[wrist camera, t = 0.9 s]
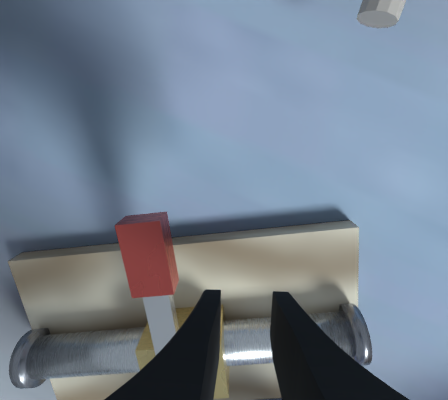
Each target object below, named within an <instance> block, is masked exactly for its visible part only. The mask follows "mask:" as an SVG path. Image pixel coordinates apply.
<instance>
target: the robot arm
mask: <svg viewBox="0 0 448 400" xmlns="http://www.w3.org/2000/svg"><path fill="white" fill-rule="evenodd" d="M220 329H221V290H210V289H206V290H205V291H203V293H202V295H201V297H200V299H199V301H198V302H197V304H196V306H195V307H194V309H193V310H192V312H191V313H190V315H189V316H188V318H187V319H186V320H185V322H184V323H183V325H182V326H181V327H180V328H179V330H178V331H177V332H176V333H175V335H174V336H173V337H172V338H171V340H170V341H169V342H168V343H167V344H166V345H165V346H164V347H163V349H162V350H161V351H160V352H159V353H158V354H157V355H156V356H155V357H154V358H153V359H152V360H151V361H150V362H149V363H148V364H147V365H145V366H144V367H143V368H142V369H141V370H140V371H139V372H138V373H137V374H136V375H134V376H133V377H132V378H131V379H130V380H129V381H127V382H126V383H125V384H124V385H122V386H121V387H120V388H118V389H117V390H116V391H115V392H113V393H112V394H111V395H109V396H108V397H107V398H106V399H104V400H213V398H214V391H215V385H216V378H217V371H218V364H219V353H220ZM270 341H271V349H272V357H273V363H274V367H275V372H276V376H277V380H278V385H279V389H280V393H281V397H282V400H409V399H408V398H406V397H404V396H403V395H401V394H400V393H398V392H397V391H395V390H394V389H393V388H391V387H390V386H388V385H387V384H386V383H384V382H383V381H381V380H380V379H379V378H377V377H376V376H374V375H373V374H372V373H370V372H369V371H368V370H367V369H365V368H364V367H363V366H361V365H360V364H359V363H358V362H357V361H355V360H354V359H353V358H352V357H351V356H349V355H348V354H347V353H346V352H345V351H344V350H342V349H341V348H340V347H339V346H338V345H337V344H336V343H335V342H334V341H333V340H332V339H331V338H330V337H329V336H327V335H326V334H325V333H324V332H323V331H322V329H321V328H320V327H319V326H318V325H317V324H316V323H315V322H314V321H313V320H312V319H311V318H310V317H309V315H308V314H307V313H306V312H305V311H304V310H303V309H302V307H301V306H300V305H299V304H298V303H297V301H296V300H295V299H294V298H293V297H292V295H291V294H290V293H289V292H279V291H273V295H272V309H271V323H270Z"/></svg>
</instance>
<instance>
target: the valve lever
mask: <svg viewBox="0 0 448 400" xmlns="http://www.w3.org/2000/svg"><path fill="white" fill-rule="evenodd" d="M115 229H116V233H117V238H118V242H119V246H120V250H121V254H122V259H123V263H124V267H125V271H126V276H127V280H128V284H129V288H130V293H131V297H132V298H141V297H143V302H144V306H145V311H146V315H147V320H148V324H149V329H150V333H151V338H152V342H153V346H154V351H155V355H157V354H158V353H159V352H160V351H161V350H162V349H163V347H164V346H165V345H166V344H167V343H168V342H169V341H170V340H171V338H172V337H173V336H174V335H175V333H176V332H177V331H178V330H179V325H178V319H177V314H176V309H175V304H174V298H173V295H174V293H175V290H176V287H177V284H178V281H179V276H178V271H177V265H176V260H175V254H174V249H173V243H172V238H171V232H170V226H169V221H168V215H167V212H159V213H150V214H140V215H130V216H125V217H124V218H123V219H122V220H120V221H119V222H118V223H117V224H116V225H115Z"/></svg>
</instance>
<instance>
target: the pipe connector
mask: <svg viewBox="0 0 448 400" xmlns="http://www.w3.org/2000/svg"><path fill="white" fill-rule="evenodd" d="M405 2H406V0H363V1H362V4H361V7H360V10H359V13H358V16H357V20H358V21H359V23H361V24H363V25H365V26H368V27H373V28H388V27H391V26H394V25H396V23H397V22H398V20H399V18H400V15H401V12H402V10H403V7H404V5H405Z"/></svg>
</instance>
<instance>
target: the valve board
mask: <svg viewBox="0 0 448 400" xmlns="http://www.w3.org/2000/svg"><path fill="white" fill-rule="evenodd" d="M172 243H173V249H174V254H175V260H176V265H177V271H178V276H179V281H178V284H177V287H176V290H175V293H174V295H173V298H174V304H175V308H186V307H195V306H196V304H197V302H198V301H199V299H200V297H201V295H202V293H203V291H205V290H206V289H210V290H221V305H222V304H223V306H224V313H225V321H226V320H239V319H251V318H264V317H271V309H272V295H273V291H279V292H289V293H290V294H291V295H292V297H293V298H294V299H295V300H296V301H297V303H298V304H299V305H300V306H301V307H302V309H303V310H304V311H305V312H306V313H307V314H314V313H327V312H339V305H340V304H348V303H353V304H355V305H356V306H357V307H358V259H359V227H358V226H357V225H355V224H354V223H353V222H352V221H350V220H347V221H336V222H326V223H316V224H306V225H296V226H286V227H276V228H265V229H255V230H245V231H235V232H225V233H215V234H205V235H195V236H184V237H174V238H172ZM8 264H9V266H10V269H11V272H12V275H13V278H14V280H15V283H16V286H17V289H18V292H19V294H20V297H21V300H22V303H23V306H24V308H25V311H26V314H27V317H28V320H29V322H30V325H31V328H32V330H33V329H40V328H49V331H50V334H63V333H76V332H88V331H101V330H113V329H126V328H138V327H145V326H146V324H147V322H148V320H147V315H146V311H145V306H144V302H143V297H141V298H132V297H131V293H130V288H129V284H128V280H127V276H126V271H125V267H124V263H123V259H122V254H121V250H120V246H119V243H113V244H103V245H93V246H83V247H73V248H63V249H53V250H42V251H32V252H22V253H21V254H19V255H17V256H16V257H14V258H12V259H11V260H9V261H8ZM136 374H137V373H124V374H110V375H95V376H81V377H67V378H52V379H50V381H51V384H52V387H53V389H54V392H55V395H56V398H57V400H104V399H106V398H107V397H108V396H109V395H111V394H112V393H113V392H115V391H116V390H117V389H118V388H120V387H121V386H122V385H124V384H125V383H126V382H127V381H129V380H130V379H131V378H132V377H133V376H134V375H136ZM272 398H282V397H281V393H280V389H279V385H278V380H277V376H276V372H275V367H274V363H268V364H253V365H239V366H229V398H220V399H213V400H256V399H272Z"/></svg>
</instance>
